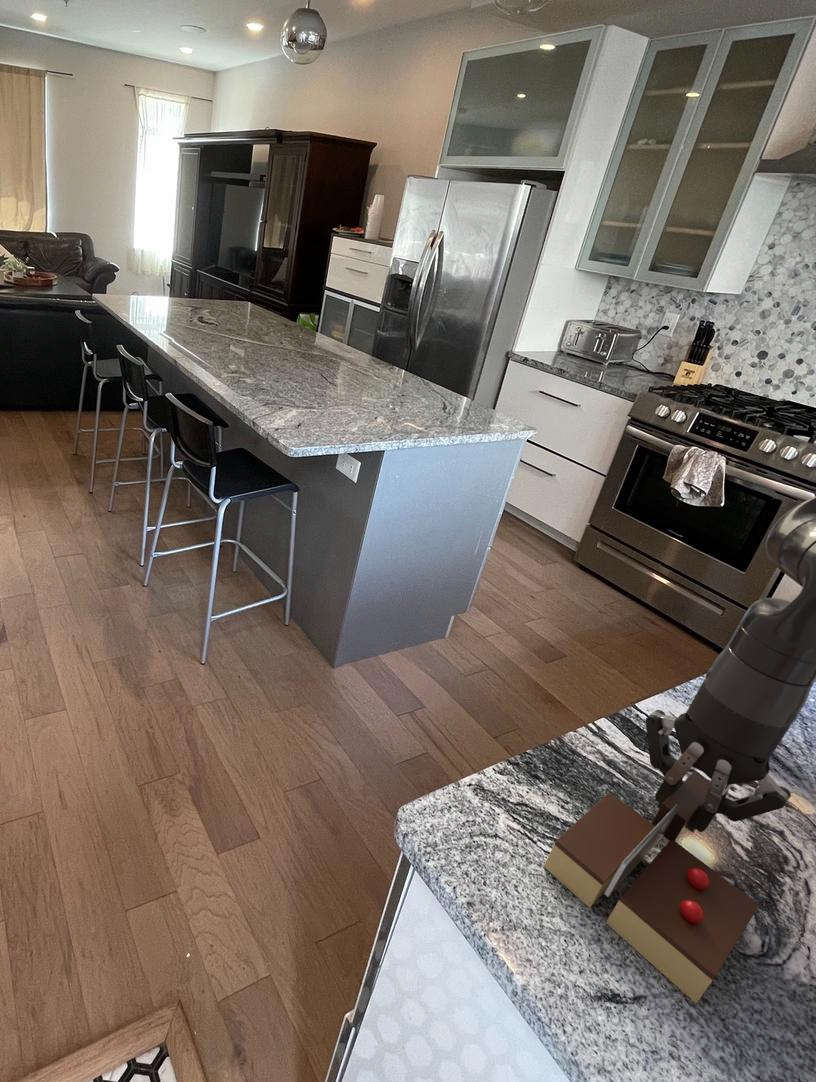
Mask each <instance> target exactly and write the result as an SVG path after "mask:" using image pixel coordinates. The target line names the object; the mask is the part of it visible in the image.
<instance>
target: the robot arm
mask: <svg viewBox="0 0 816 1082" xmlns="http://www.w3.org/2000/svg"><path fill="white" fill-rule="evenodd" d="M765 552H766V555H767V558H768V559H769V561H770V562H771V563H772V564H773V565H774V566H775V567H776V568H777V570H779V571H781V572H782V573H784V574H785V575H786V576H787V577H789V578H790V579H791V580H792V581H794V582H795V583H796V584H798V585H799V586H800V587H801V589H800V592H799V593H798V594H797V596H796V597H795V598H794V599H793V600H791V601H790V600H786V599H782V598H778V597H763V598H760V599H757V600H755V601H754V602H753V603H752V604H750V606H749V607H748V609H747V610H746V611H745V613H744V615H743V616H742V617H741V619H740V621H739V622H738V625H737V627H736V628H735V630H734V632H733V634H732V635H731V637H730V639H729V641H728V643H727V645H725V647H724V649H722V650H721V652H720V653H719V654H718V655H717V657H716V658H715V660H714V662H713V663H712V665H711V666H710V667H709V668H708V669H707V671H706V673H705V678H703V679H704V680H703V682H702V683H701V685H700V687H699V689H698V690H697V692H696V693H695V696H694V698H693V699H692V701H691V702H690V705H689V707H688V708H687V710H686V711H685V712H684V713H681V714H680V715H678V717H676V716H672V715H667V714H666V712H664V711H663V710H661V709H656V710H654V711H652V713H650V714H649V715H648V716H647V717H646V718H645V728H646V737H647V747H648V756H649V763H650V765H651V767H652V768H654V769H655V770H659V772H661V774H662V775H663V780H662V782H661V784H660V786H659V788H658V789H657V791H656V793H655V795H654V797H655V798H654V800H655V801H657V802H658V804H657V808H658V809H660V807H661V806H662V804H663V803H664V802H665V801H666V800H667V799H668V798H669V797H670V796H671V794H672V793H673V792H674V791H676V790H677V789H678V788H679V787H680V786H681V785H682V784H683V782H684V781H685V780H683V779H684V778H685V776H686V775H687V773H688V772H689V771H690V770H691V769H692V768H694V769H695V770H697V771H700V772H702V773H704V774H705V776H706V777H708V778H709V780H710V785H709V787H708V793H707V795H706V798H705V800H704V801H703V802H702V803H701V804H700V805H699V808H698V810H697V811H696V813H695V815H694V816H693V818H692V820H691V821H690V823H689V824H688V826H687V828H686V829H687V830H688V831H690V832H691V833H694V832H695V831H698V832H699V833H702V832H705V831H706V830H707V828H708V827H709V826H710V825H711V823H712V821H713V819H714V818H715V817H716V815H717V814H720V815H723V816H725V817H726V818H727V819H728V820H729V821H731V822H734V823H737V822H739V821H743V820H747V819H751V818H753V817H757V816H760V815H763V814H767V813H770V812H774V811H777V810H780V809H783V808H784V806H785V805H786V804H787V803H788V801H789V800H790V798H791V797H792V793H791V791H790V790H789V788H786V787H785V786H781V785H778V783H776V781H775V780H774V779H773V778H772V777H771V775H770V774H769V773H770V770H771V768H770V759H771V757H772V756H773V754H774V752H775V751H776V749H777V748H778V746H779V745H780V743H781V741H782V740H783V738H784V737H785V735H786V734H787V733H788V731H789V729H790V728H791V726H792V724H793V723H795V722H796V720H797V718H798V715H799V714H800V712H801V711H802V710H803V708H804V706H805V704H806V702H807V701H808V699H809V696H810V692H811V690H812V688H813V686H814V683H815V682H816V495H814V496H812V497H809V498H808V499H806V500H804V501H802V502H801V503H799V504H797V505H796V506H794V507H792V508H791V509H789V510H788V511H786V512H785V513H784V514H783V515H782V516H781V517H780V518H779V519H778V520H777V521H776V522H775V523H774V524H773V526H772V527H771V529H770V530H769V532H768V534H767V537H766V541H765ZM673 729H674V731H675V735H676V738H677V739H676V740H677V742H678V745H679V749H680V752H681V755H680V756H679V758H678V759H677V760H676V761H673V760H672V757H671V748H670V747H671V746H670V739H669V738H670V737H669V735H670V734H671V733H672V732H673ZM752 782H757V783H758V785H757V787H756V788H755V789H754V793H753V794H750V795H747V796H744V797H741V798H738V799H734V800H733V799H730V798H727V796H728V793H729V791H730V789H731V788H732V785H737V784H745V783H752Z"/></svg>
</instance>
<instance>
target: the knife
mask: <svg viewBox="0 0 816 1082" xmlns="http://www.w3.org/2000/svg"><path fill="white" fill-rule="evenodd" d="M683 781H684V782H683V784H682V785H681V786H680V787H679V788H678V789H677V790H676V791H674V792H673V793H672V794H671V796H670V797H669V798H668V799H667V800H666V801H665V802H664V803H663V804H662V806H661V807H660V808H658V811H657V812H656V814H655V816H654V818H653V820H652V821H651V822H650V823H651V824H653V825H654V826H655V828H654V829H653V830H652V831H651V832H650V833H649V834H648V835H647V836H646V837H645V838H644V840H643V841H642V842H641V843H640V844H639V845H638V846H637V847H636V848H635V849H634V850H633V851H632V852H631V853H630V855H629V856H628V857H627V858H626V859H625V860H624V861H623V862H622V864H621V865H620V867H619V869H618V871H617V872H616V874H615V876H614V878H613V879H612V881H611V883H610V884H609V886H608V888H607V890H606V891H605V892H604V893H603V894H604V895H605V897H607V898H610V896H612V894H613V893H614V892H615V890H617V888H618V887H619V886H620V885H621V884H622V883H623V882H624V881H625V879H626V878H627V877H628V876H629V875H630V874H631V873H632V872H633V871H634V869H635V868H636V867H637V866H638V865H639V864H640V862H641V861H642V860H644V858H645V857H646V856H647V855H648V854H649V852H651V850H652V849H653V848H654V847H655V846H656V845H657V844H658V842H660V841H661V839H662V838H663V837H664V838H665V839H667V840H668V842H669V841H670V840H671V839H673V840H674V841H675V842H677V840H678V839H679V838H680V836H681V835H682V834H683V833H684V831H686V829H687V826H688V824H689V823H690V821H691V820H692V818H693V816H694V815H695V813H696V811H697V810H698V808H699V805H700V804H701V803H702V802H703V801H704V800H705V798H706V795H707V793H708V787H709V785H710V782H711V780H709V779H707V778H705V777H704V776H703V775H702V774H699V772H696V771H695V770H694V771H692V772H691V774H689V776H687V777H686V779H685V780H683Z"/></svg>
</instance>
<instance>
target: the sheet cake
mask: <svg viewBox="0 0 816 1082" xmlns="http://www.w3.org/2000/svg"><path fill="white" fill-rule="evenodd" d="M759 906H760V904H759V903H758V902H757V901H755V900H754V899H753V898H752V897H750V896H749V895H748V894H746V893H745V892H743V891H742V890H741V889H739V887H737V886H736V885H734V884H733V883H732V882H731V881H729V880H727V879H726V878H725V877H723V876H722V875H720V873H718V872H717V871H715V870H714V869H713V868H711V867H710V866H708V865H707V863H705V862H703V861H702V860H701V859H699V858H698V857H697V856H696V855H694V854H693V853H691V852H690V851H689V850H688V849H686V848H685V847H683V845H680V844H679V843H678V842H677V841H674V840H673V839H671V840H670V841H669V840H668V842H667V843H666V844H665V845H664V846H663V848H661V850H660V851H659V852H658V853H657V854H656V856H654V858H653V859H652V860H651V862H649V864H647V866H646V867H645V868H644V869H643V871H642V872H641V873H640V874H639V875H638V876H637V878H635V880H634V881H633V882H632V883H631V884H630V885H629V887H628V888H627V889H626V890H625V891H624V892H623V893H622V894H621V895H620V898H619V899H618V901H617V902H616V904H615V906H614V908H613V909H612V911H611V913H610V915H609V917H608V918H607V920H606V922H605V923H606V925H608V927H610V928H611V929H612V930H613V931H614V932H615V933H617V934H618V936H620V937H621V938H622V939H623V940H625V941H626V942H627V943H628V944H629V945H630V946H631V947H632V948H633V949H635V950H636V951H637V952H638V953H639V954H640V956H642V957H643V958H644V959H645V960H647V962H649V963H650V964H651V965H652V966H653V967H654V968H656V970H658V971H659V972H660V973H661V974H662V975H664V977H666V979H668V980H669V982H671V983H672V984H673V985H675V987H676V988H678V989H679V990H680V991H681V992H682V993H683V994H684V995H686V996H687V997H688V998H689V999H690V1000H691V1001H692V1003H695V1004H697V1003H698V1002H699V1001H700V999H701V998H702V997H703V995H704V993H706V991H707V989H708V988H709V987H710V985H711V984H712V982H713V981H714V980H715V978H716V977H717V975H718V973H719V972H720V970H721V969H722V967H723V965H724V964H725V962H726V960H727V959H728V957H729V956H730V954H731V952H732V951H733V949H734V947H735V946H736V944H737V942H738V941H739V939H740V938H741V936H742V934H743V932H744V931H745V929H746V928H747V927H748V925H749V923H750V921H751V920H752V918H753V916H754V914H755V913H756V911H757V910H758V908H759Z"/></svg>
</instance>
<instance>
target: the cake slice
mask: <svg viewBox="0 0 816 1082" xmlns="http://www.w3.org/2000/svg"><path fill="white" fill-rule="evenodd" d="M651 823H652V822H650V821H649V820H647V819H646V818H644V816H642V815H640V814H639V813H638V812H637V811H635V810H634V809H632V808H631V807H630V806H629V805H627V804H626V803H624V802H623V800H620V799H619V798H618V797H616V796H615V795H614V794H612V793H611V792H610V791H609V792H608V793H607V794H605V795H604V797H602V798H601V799H600V800H599V801H597V803H596V804H594V805H593V806H592V807H591V808H590V809H589V810H588V811H587V812H585V813H584V814H583V815H582V816H580V818H579V819H578V820H577V821H576V822H575V823H573V824H572V825H571V826H570V827H569V828H568V829H567V830H566V831H565V832H563V833H562V834H561V836H559V837H558V838H557V839H556V840H555V842H554V844H553V845H552V847H551V850H550V852H549V854H548V856H547V858H546V860H545V862H544V863H543V868H544V869H546V871H548V872H549V873H550V875H552V876H553V877H554V878H555V879H557V880H558V881H559V882H560V883H561V884H562V885H563V886H564V887H565V888H566V889H568V890H569V891H570V892H571V893H572V894H573V895H574V896H576V898H578V899H579V900H580V901H581V902H582V903H583V904H584V905H586V906H587V907H588V908H589V909H590V908H592V906H593V905H595V903H596V902H597V901H598V900H599V899H600V897H602V896H603V894H604V893H605V891H606V890H607V888H608V886H609V884H610V883H611V881H612V879H613V878H614V876H615V874H616V872H617V871H618V869H619V867H620V865H621V864H622V862H623V861H624V860H625V859H626V858H627V857H628V856H629V855H630V853H631V852H632V851H633V850H634V849H635V848H636V847H637V846H638V845H639V844H640V843H641V842H642V841H643V840H644V838H645V837H646V836H647V835H648V834H649V833H650V832H651V831H652V830H653V829H654V828H655V826H654V825H653V824H651Z"/></svg>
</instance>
